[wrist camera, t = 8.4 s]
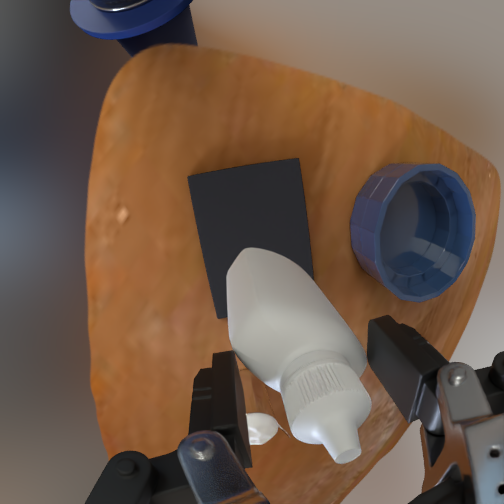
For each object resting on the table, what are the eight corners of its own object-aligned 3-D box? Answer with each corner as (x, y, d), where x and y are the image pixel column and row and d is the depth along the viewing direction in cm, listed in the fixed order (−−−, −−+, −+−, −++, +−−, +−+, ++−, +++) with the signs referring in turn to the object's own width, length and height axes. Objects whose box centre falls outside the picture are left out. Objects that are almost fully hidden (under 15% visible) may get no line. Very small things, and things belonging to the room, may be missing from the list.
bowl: (342, 167, 26) (368, 168, 21) (441, 160, 27) (473, 162, 22) (352, 293, 30) (374, 316, 25) (443, 268, 31) (470, 284, 25)
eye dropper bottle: (262, 334, 18) (305, 510, 6) (217, 260, 16) (209, 438, 5) (324, 302, 18) (427, 452, 6) (286, 223, 16) (413, 340, 5)
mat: (188, 176, 25) (187, 176, 25) (296, 158, 26) (299, 157, 25) (217, 315, 29) (217, 319, 28) (313, 297, 30) (315, 300, 29)
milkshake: (277, 385, 33) (293, 448, 23) (234, 395, 32) (238, 459, 23) (270, 357, 31) (286, 422, 22) (223, 368, 31) (225, 435, 22)
